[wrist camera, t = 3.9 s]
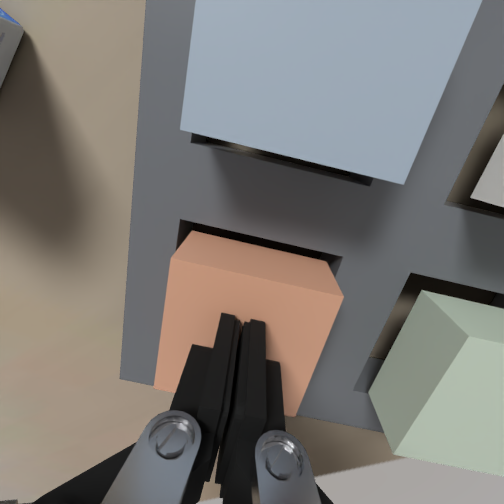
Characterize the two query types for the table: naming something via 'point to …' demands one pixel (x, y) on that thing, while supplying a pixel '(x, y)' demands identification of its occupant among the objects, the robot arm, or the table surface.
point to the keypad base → (310, 211)
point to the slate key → (324, 77)
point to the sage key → (445, 385)
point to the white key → (492, 179)
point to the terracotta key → (247, 307)
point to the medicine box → (8, 41)
